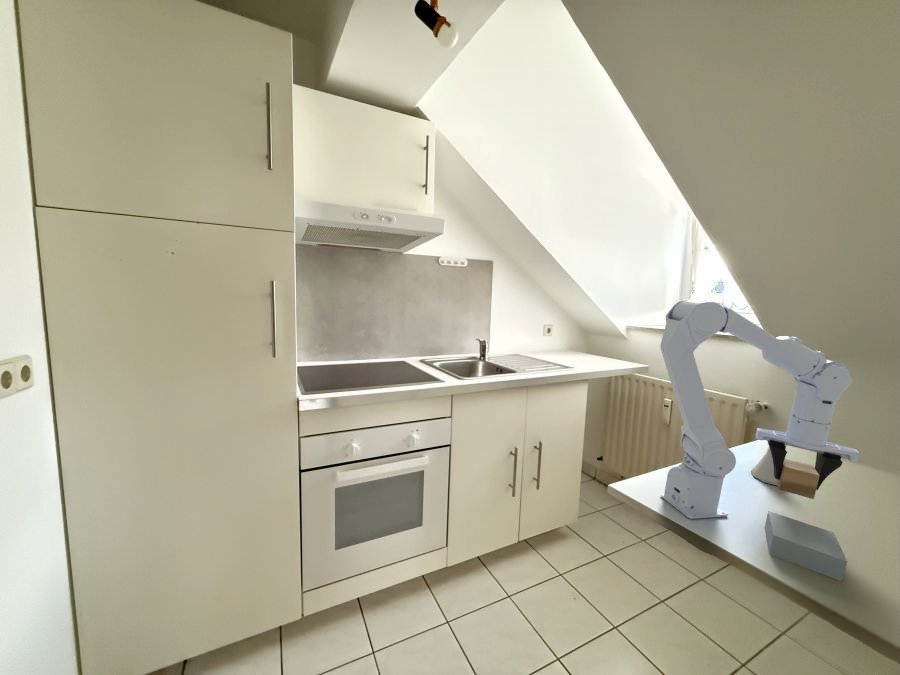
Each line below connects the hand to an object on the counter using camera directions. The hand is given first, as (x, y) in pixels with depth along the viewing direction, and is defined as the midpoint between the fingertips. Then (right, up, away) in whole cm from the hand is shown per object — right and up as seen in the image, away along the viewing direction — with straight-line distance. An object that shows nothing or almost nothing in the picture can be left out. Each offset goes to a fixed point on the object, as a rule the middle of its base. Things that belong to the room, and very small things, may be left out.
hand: (794, 482), depth 72 cm
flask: (+11, -7, +18) cm, 22 cm away
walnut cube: (0, -1, 0) cm, 1 cm away
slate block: (-7, -10, -8) cm, 14 cm away
